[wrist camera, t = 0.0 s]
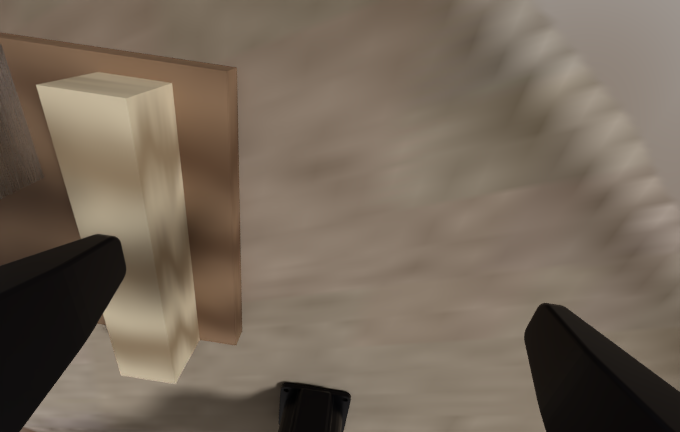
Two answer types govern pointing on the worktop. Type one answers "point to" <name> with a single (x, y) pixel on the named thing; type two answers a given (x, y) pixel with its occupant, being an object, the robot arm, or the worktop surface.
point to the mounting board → (195, 156)
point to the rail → (131, 210)
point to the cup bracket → (14, 139)
